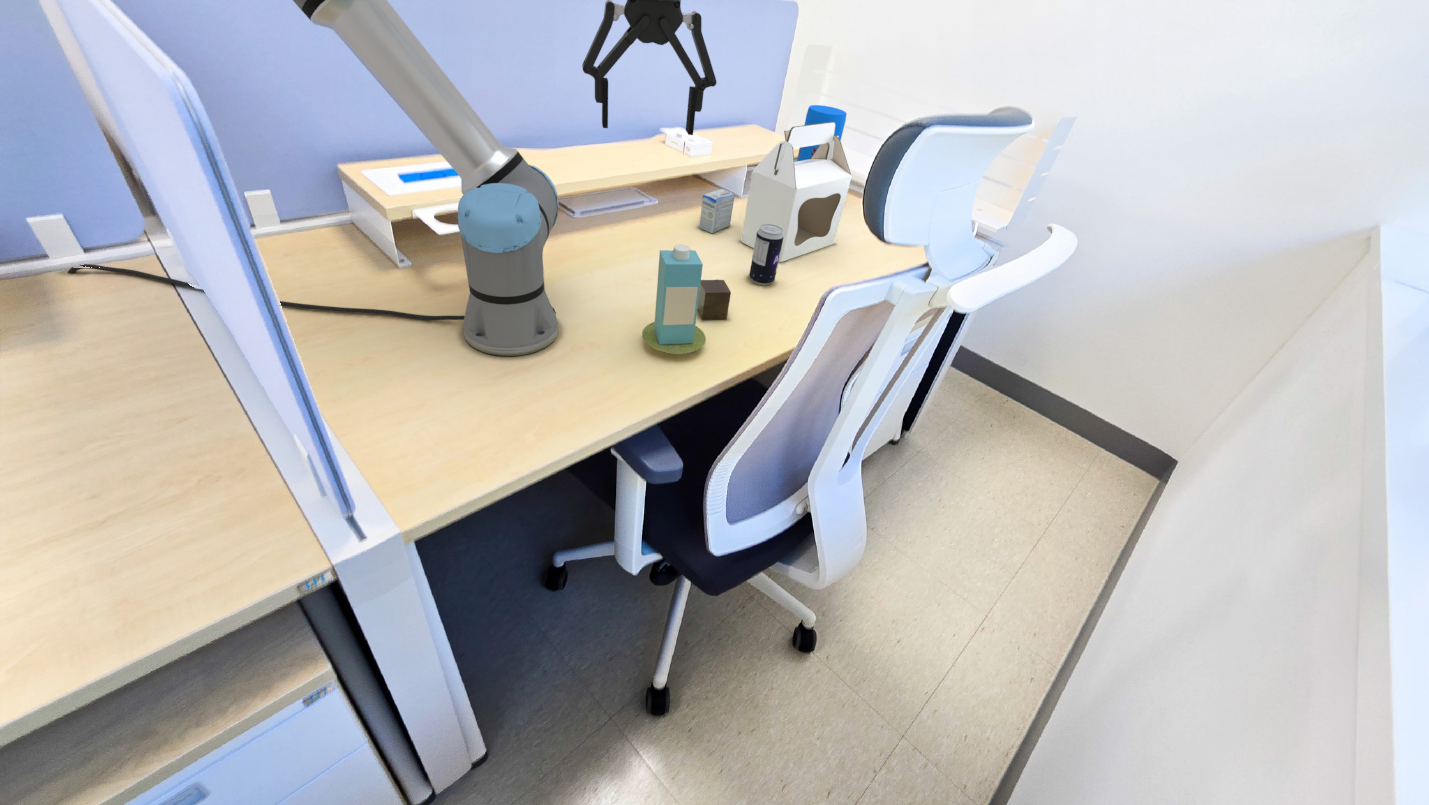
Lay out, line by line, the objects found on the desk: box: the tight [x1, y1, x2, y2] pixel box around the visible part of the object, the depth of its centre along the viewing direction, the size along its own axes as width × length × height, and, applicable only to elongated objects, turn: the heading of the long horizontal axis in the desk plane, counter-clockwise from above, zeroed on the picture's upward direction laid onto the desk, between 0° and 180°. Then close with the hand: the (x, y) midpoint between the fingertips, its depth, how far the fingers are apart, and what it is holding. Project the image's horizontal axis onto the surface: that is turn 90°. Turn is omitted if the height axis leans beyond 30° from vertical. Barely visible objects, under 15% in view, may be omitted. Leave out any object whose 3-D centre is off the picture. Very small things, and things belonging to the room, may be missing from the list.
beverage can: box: [748, 224, 784, 286], centre depth 123 cm, size 6×6×12 cm
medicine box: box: [698, 188, 736, 234], centre depth 145 cm, size 8×4×9 cm, turn 144°
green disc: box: [641, 320, 707, 355], centre depth 102 cm, size 11×11×2 cm
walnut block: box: [697, 279, 732, 321], centre depth 111 cm, size 5×5×6 cm
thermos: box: [796, 104, 847, 162], centre depth 165 cm, size 11×11×25 cm
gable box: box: [740, 122, 853, 263], centre depth 137 cm, size 22×13×28 cm, turn 135°
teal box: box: [654, 243, 704, 345], centre depth 96 cm, size 6×14×14 cm
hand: (647, 129), depth 92 cm, fingers open, 13 cm apart
